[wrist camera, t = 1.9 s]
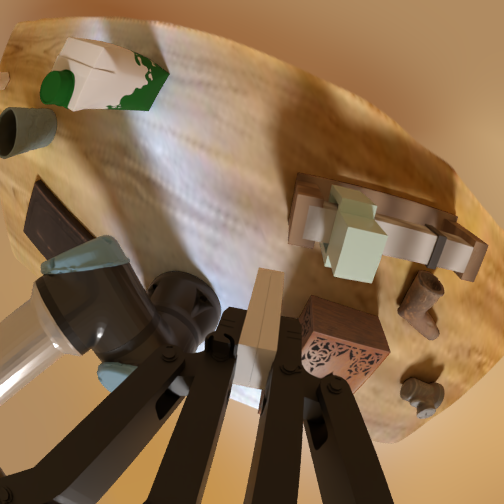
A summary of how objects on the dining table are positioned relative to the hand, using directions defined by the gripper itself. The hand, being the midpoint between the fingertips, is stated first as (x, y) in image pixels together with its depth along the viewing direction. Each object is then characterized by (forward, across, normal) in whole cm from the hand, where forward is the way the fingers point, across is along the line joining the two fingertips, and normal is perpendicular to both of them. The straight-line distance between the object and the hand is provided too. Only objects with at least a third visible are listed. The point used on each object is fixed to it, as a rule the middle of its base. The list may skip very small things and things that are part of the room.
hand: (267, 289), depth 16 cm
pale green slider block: (+21, -8, 0) cm, 23 cm away
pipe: (+27, -31, +14) cm, 44 cm away
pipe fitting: (+27, -44, +38) cm, 64 cm away
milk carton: (+26, +25, -16) cm, 40 cm away
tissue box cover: (+27, -13, +30) cm, 42 cm away
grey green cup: (+26, +51, -10) cm, 58 cm away
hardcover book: (+27, +48, +15) cm, 57 cm away
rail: (+26, -16, 0) cm, 31 cm away
